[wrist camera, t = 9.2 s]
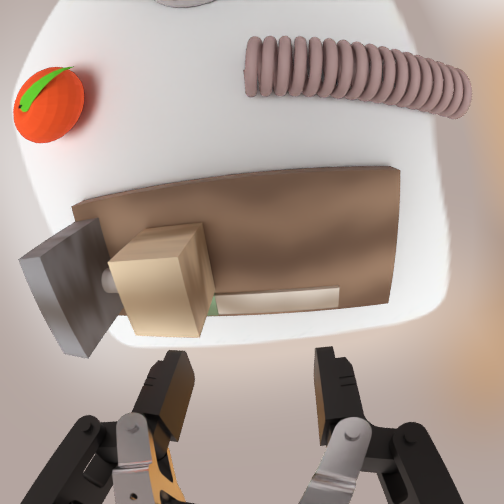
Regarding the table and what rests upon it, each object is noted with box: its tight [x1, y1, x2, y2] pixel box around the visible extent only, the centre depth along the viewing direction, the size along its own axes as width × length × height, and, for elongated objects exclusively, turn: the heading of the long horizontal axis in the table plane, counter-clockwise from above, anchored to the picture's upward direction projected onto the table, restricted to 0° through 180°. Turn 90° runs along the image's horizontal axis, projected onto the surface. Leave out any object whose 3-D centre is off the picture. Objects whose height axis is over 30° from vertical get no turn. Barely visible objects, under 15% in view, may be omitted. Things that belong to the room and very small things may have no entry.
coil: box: [243, 36, 472, 119], centre depth 15 cm, size 5×5×18 cm
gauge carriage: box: [101, 222, 215, 338], centre depth 20 cm, size 8×8×6 cm
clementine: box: [13, 67, 84, 143], centre depth 15 cm, size 8×7×7 cm
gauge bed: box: [19, 166, 400, 358], centre depth 19 cm, size 12×28×10 cm, turn 97°
